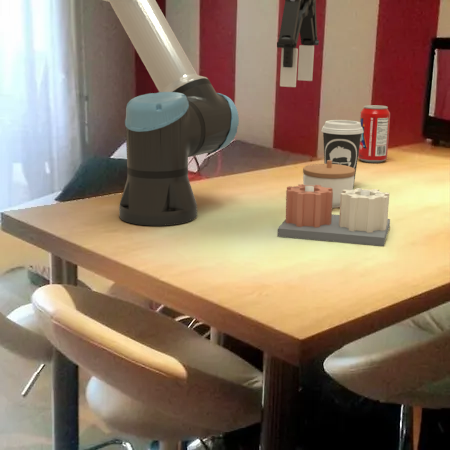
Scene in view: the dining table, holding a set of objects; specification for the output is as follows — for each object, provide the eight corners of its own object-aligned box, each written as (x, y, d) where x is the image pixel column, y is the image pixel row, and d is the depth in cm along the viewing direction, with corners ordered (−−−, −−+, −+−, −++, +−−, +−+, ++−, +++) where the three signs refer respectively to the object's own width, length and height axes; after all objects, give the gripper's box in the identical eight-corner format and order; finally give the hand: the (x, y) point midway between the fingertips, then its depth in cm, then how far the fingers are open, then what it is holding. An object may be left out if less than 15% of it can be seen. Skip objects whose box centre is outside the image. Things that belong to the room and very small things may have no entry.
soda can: (380, 164, 198) (384, 108, 194) (353, 161, 202) (356, 106, 198) (391, 160, 205) (394, 105, 201) (364, 157, 209) (367, 103, 205)
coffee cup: (369, 188, 170) (373, 123, 166) (338, 193, 165) (341, 126, 161) (340, 180, 178) (343, 118, 174) (310, 185, 173) (312, 121, 169)
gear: (284, 226, 133) (285, 193, 131) (286, 214, 140) (287, 183, 139) (331, 228, 132) (333, 195, 130) (330, 216, 140) (332, 185, 138)
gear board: (277, 236, 132) (278, 192, 129) (292, 218, 144) (293, 178, 141) (383, 246, 126) (386, 200, 124) (389, 226, 138) (392, 184, 136)
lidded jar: (352, 212, 149) (354, 166, 146) (299, 209, 151) (300, 164, 148) (354, 200, 159) (356, 157, 156) (304, 197, 161) (305, 155, 158)
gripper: (309, -45, 117) (301, 90, 123) (337, -35, 140) (329, 79, 146) (263, -46, 119) (258, 88, 125) (298, -36, 142) (292, 77, 148)
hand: (296, 83), depth 135 cm, fingers open, 13 cm apart
